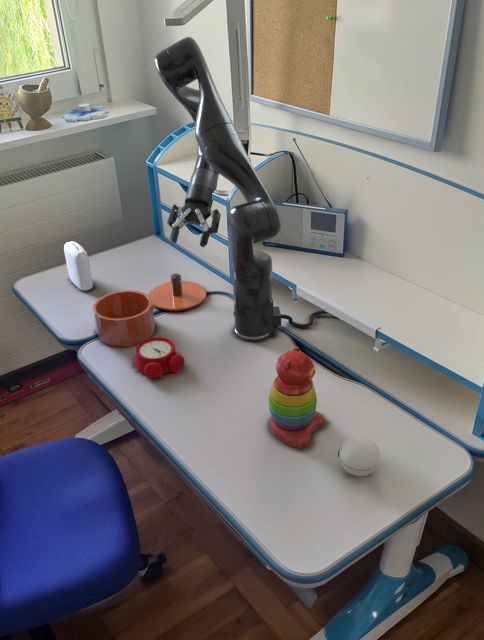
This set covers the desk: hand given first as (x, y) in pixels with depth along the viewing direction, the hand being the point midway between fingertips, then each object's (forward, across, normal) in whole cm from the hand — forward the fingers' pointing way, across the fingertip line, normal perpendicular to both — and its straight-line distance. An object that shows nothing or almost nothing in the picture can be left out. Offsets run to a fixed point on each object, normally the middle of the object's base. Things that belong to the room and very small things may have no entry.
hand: (187, 244), depth 179 cm
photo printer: (+15, -30, +2) cm, 34 cm away
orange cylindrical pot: (+28, -6, -11) cm, 31 cm away
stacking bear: (+44, +45, -26) cm, 68 cm away
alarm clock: (+36, +10, -19) cm, 42 cm away
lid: (+14, 0, +2) cm, 14 cm away
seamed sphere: (+50, +59, -32) cm, 84 cm away
